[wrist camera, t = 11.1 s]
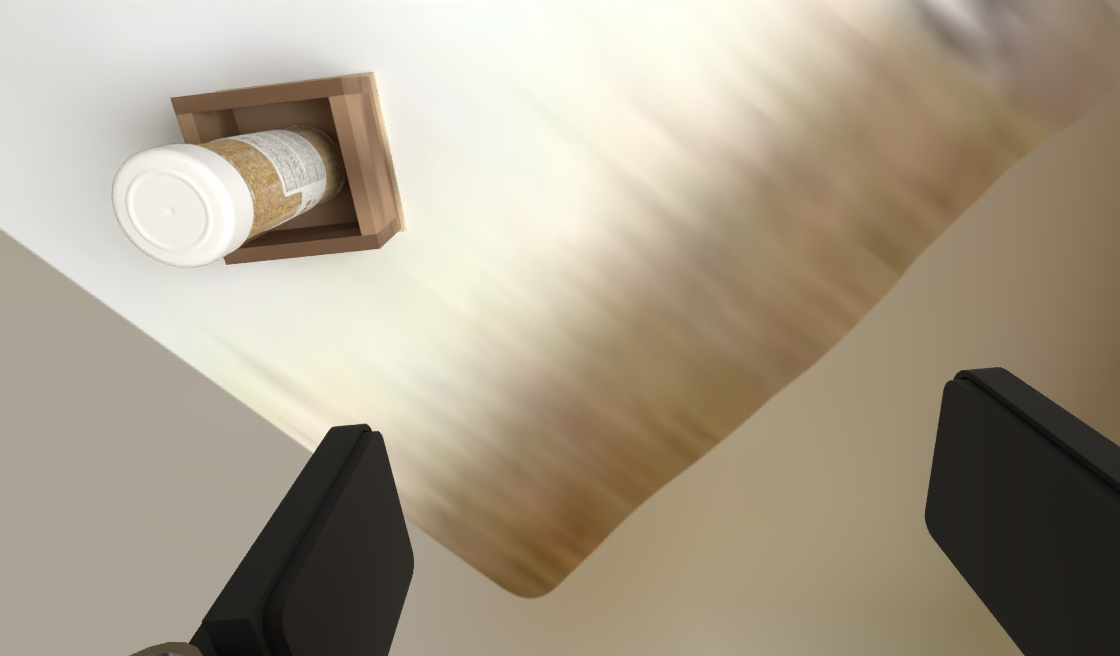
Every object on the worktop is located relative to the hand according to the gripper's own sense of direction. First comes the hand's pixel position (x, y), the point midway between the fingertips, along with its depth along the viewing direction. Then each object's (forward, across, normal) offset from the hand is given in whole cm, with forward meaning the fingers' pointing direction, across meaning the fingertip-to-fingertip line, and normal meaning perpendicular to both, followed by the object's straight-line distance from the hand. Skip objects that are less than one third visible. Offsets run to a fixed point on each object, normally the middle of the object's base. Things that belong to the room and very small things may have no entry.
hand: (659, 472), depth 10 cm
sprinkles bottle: (+28, +16, -3) cm, 32 cm away
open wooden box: (+28, +16, -3) cm, 33 cm away
